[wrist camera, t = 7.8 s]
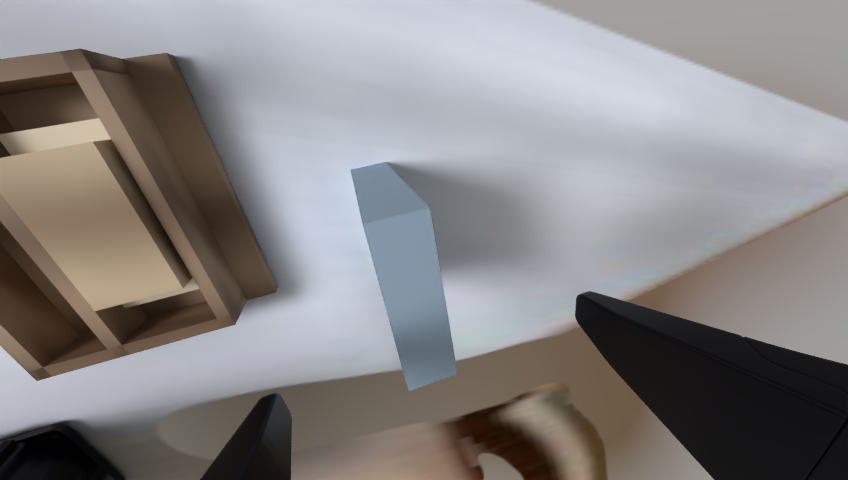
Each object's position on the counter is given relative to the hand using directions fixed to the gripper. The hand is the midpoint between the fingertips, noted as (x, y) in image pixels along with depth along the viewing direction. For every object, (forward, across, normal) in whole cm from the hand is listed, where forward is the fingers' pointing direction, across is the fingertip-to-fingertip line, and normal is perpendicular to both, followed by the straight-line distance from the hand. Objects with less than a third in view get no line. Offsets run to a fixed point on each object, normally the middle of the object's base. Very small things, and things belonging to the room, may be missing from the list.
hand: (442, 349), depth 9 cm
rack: (+11, +13, -4) cm, 17 cm away
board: (+11, 0, 0) cm, 11 cm away
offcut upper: (+9, +12, -4) cm, 15 cm away
